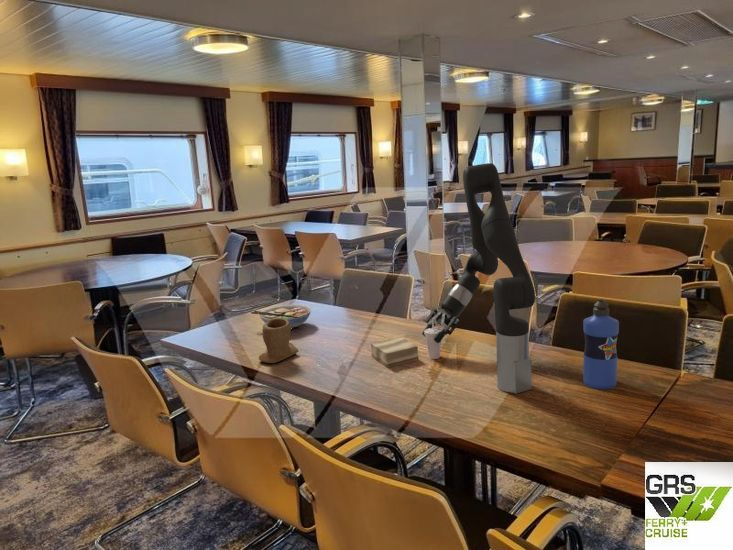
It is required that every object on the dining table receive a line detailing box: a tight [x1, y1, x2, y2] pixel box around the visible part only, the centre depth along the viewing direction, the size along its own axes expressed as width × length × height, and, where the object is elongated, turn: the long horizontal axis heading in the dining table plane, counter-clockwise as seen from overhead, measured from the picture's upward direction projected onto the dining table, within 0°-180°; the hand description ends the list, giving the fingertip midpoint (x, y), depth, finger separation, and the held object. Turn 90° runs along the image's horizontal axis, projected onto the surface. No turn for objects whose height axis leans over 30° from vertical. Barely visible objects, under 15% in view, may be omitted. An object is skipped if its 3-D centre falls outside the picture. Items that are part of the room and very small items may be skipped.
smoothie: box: [423, 318, 442, 360], centre depth 186 cm, size 6×6×14 cm
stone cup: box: [258, 318, 299, 364], centre depth 196 cm, size 15×12×15 cm
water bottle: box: [582, 299, 620, 390], centre depth 156 cm, size 9×9×25 cm
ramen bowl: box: [250, 304, 312, 329], centre depth 233 cm, size 25×23×8 cm
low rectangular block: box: [370, 336, 420, 369], centre depth 189 cm, size 12×12×5 cm
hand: (429, 338), depth 186 cm, fingers open, 7 cm apart
